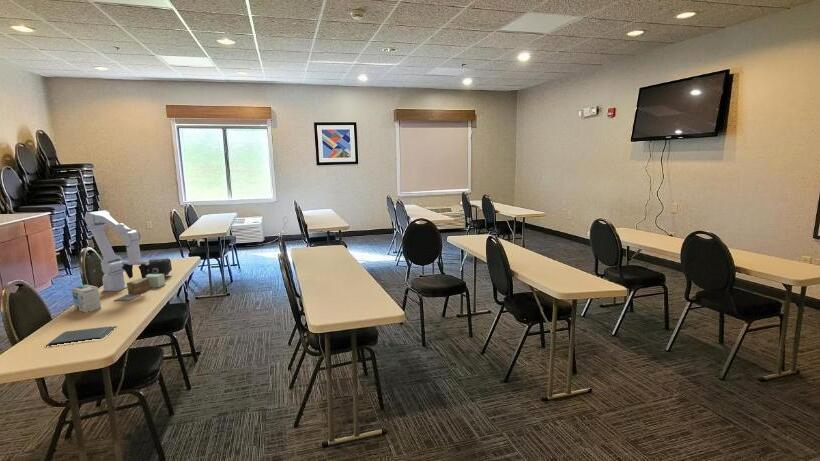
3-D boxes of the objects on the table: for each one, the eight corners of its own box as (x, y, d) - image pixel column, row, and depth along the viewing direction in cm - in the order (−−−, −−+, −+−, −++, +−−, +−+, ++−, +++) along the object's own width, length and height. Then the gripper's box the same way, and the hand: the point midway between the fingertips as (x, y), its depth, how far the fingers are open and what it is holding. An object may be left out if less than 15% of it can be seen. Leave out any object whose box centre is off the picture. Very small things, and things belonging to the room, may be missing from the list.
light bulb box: (74, 309, 197) (70, 288, 195) (90, 304, 203) (87, 284, 201) (86, 313, 192) (82, 291, 190) (102, 308, 198) (98, 286, 196)
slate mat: (114, 300, 208) (114, 300, 208) (126, 295, 216) (126, 294, 216) (128, 300, 207) (128, 300, 207) (140, 295, 215) (140, 294, 215)
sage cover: (159, 287, 229) (157, 276, 228) (143, 287, 230) (142, 276, 229) (165, 284, 234) (164, 273, 233) (150, 284, 235) (149, 273, 234)
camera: (173, 275, 255) (145, 275, 251) (172, 257, 254) (145, 257, 249) (168, 280, 245) (139, 280, 241) (168, 261, 244) (139, 261, 239)
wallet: (41, 345, 156) (63, 329, 170) (42, 349, 156) (64, 333, 171) (101, 338, 161) (118, 323, 175) (102, 342, 161) (119, 327, 176)
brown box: (128, 294, 218) (126, 283, 217) (140, 288, 227) (139, 278, 226) (138, 294, 218) (136, 283, 217) (149, 288, 226) (148, 278, 225)
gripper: (115, 255, 215) (119, 280, 218) (141, 254, 214) (144, 279, 216) (125, 252, 222) (129, 276, 225) (150, 251, 221) (154, 276, 223)
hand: (137, 277), depth 221 cm, fingers open, 7 cm apart
